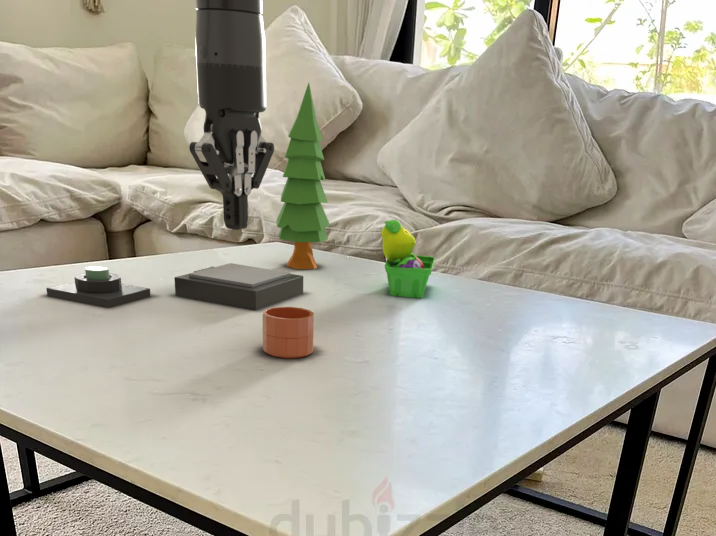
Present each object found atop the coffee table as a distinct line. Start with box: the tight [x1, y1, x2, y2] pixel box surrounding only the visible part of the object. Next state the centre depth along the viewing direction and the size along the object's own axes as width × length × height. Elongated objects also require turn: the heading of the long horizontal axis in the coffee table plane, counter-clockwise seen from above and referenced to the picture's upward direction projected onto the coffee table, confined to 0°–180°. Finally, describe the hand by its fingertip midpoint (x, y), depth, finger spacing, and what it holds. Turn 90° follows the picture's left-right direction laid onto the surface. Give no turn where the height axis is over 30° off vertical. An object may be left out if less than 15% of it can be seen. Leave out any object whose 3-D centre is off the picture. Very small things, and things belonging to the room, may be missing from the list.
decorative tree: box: [275, 82, 330, 270], centre depth 136 cm, size 10×9×30 cm
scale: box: [173, 262, 304, 311], centre depth 119 cm, size 14×14×4 cm
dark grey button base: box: [46, 272, 152, 309], centre depth 113 cm, size 11×9×3 cm
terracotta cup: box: [262, 306, 315, 359], centre depth 94 cm, size 6×6×5 cm
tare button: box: [84, 265, 110, 280], centre depth 112 cm, size 3×3×2 cm
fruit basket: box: [381, 219, 436, 299], centre depth 127 cm, size 11×9×11 cm
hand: (236, 228), depth 93 cm, fingers closed
